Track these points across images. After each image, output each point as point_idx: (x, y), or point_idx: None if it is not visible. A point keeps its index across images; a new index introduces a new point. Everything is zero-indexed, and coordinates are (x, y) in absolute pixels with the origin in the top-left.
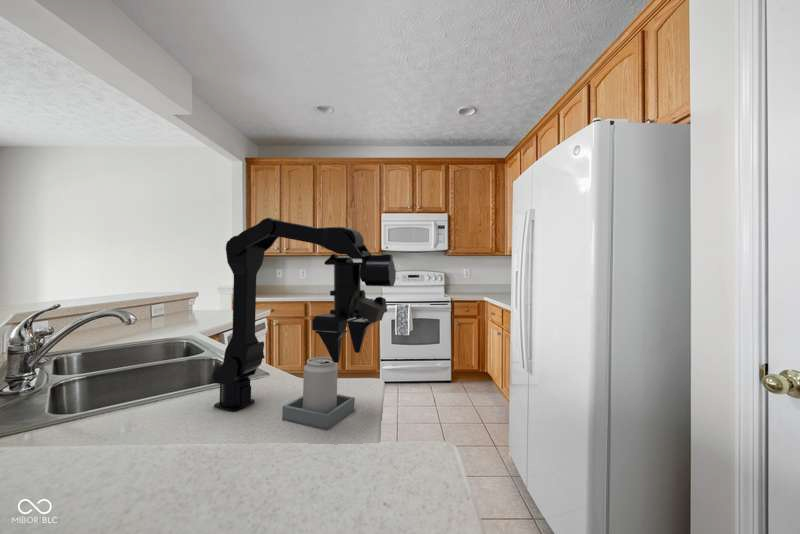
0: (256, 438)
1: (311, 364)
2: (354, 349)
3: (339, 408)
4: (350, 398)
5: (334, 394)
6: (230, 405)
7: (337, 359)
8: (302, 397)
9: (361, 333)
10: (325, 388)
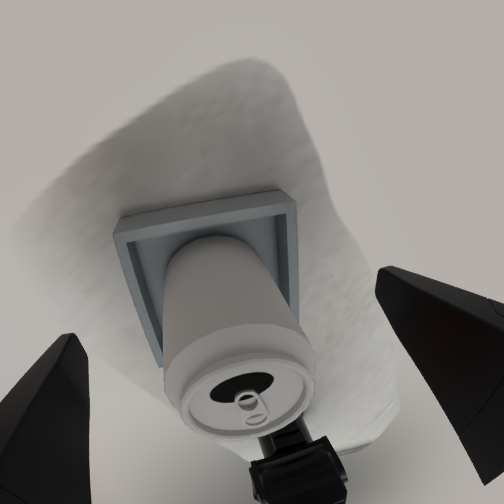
0: (371, 286)
1: (312, 392)
2: (87, 376)
3: (222, 212)
4: (129, 239)
5: (213, 263)
6: None
7: (408, 274)
8: None
9: (17, 466)
10: (266, 285)
